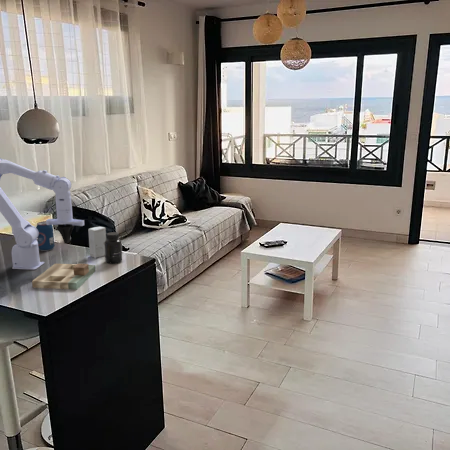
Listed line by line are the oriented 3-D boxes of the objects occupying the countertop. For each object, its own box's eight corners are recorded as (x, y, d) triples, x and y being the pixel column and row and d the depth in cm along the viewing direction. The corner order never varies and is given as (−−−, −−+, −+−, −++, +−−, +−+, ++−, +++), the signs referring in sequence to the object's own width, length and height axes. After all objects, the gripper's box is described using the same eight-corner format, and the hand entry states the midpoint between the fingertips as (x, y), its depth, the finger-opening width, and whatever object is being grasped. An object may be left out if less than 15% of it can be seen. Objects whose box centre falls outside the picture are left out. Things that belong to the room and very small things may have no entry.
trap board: (32, 287, 157) (31, 281, 156) (55, 269, 174) (55, 263, 174) (76, 289, 156) (76, 282, 155) (95, 271, 173) (95, 265, 173)
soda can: (34, 250, 197) (31, 223, 194) (46, 245, 204) (44, 220, 200) (46, 252, 195) (44, 225, 192) (58, 247, 201) (55, 221, 198)
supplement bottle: (118, 265, 180) (116, 236, 177) (102, 263, 181) (100, 235, 178) (125, 259, 187) (123, 231, 183) (109, 258, 188) (108, 230, 185)
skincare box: (96, 258, 188) (94, 230, 185) (89, 256, 190) (87, 228, 187) (107, 254, 192) (106, 227, 189) (101, 252, 195) (99, 225, 192)
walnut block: (74, 275, 162) (73, 267, 161) (78, 271, 166) (77, 263, 165) (84, 275, 162) (84, 267, 161) (88, 271, 166) (88, 263, 165)
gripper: (41, 211, 170) (44, 245, 174) (78, 212, 169) (80, 246, 173) (49, 206, 177) (52, 239, 181) (85, 208, 176) (87, 241, 179)
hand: (67, 242), depth 177 cm, fingers closed
